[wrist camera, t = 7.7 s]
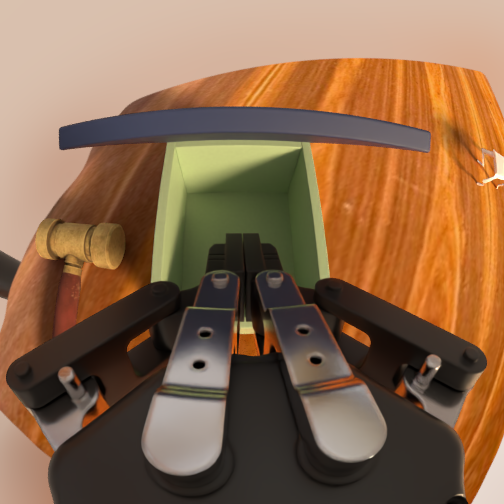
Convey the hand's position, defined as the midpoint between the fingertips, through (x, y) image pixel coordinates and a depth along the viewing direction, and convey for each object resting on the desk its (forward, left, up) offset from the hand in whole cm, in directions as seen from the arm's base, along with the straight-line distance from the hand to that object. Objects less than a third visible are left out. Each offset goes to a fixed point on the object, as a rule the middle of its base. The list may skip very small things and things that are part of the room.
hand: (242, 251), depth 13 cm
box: (-2, +4, -15) cm, 16 cm away
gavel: (-16, -10, -15) cm, 24 cm away
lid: (-3, +6, 0) cm, 7 cm away
